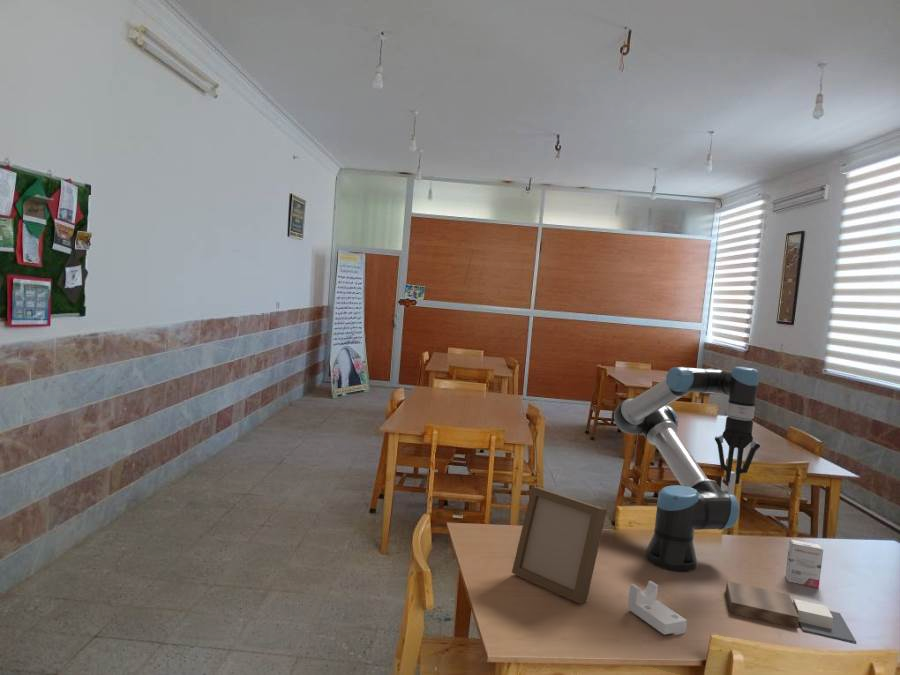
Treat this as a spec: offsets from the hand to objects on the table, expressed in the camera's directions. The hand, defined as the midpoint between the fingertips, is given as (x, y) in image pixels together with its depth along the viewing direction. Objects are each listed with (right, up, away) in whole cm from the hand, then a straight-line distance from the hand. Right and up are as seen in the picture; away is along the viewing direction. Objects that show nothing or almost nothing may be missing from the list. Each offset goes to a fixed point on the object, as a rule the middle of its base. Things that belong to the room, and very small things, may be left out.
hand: (730, 493), depth 195 cm
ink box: (+21, -27, -2) cm, 34 cm away
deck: (-2, -26, -23) cm, 35 cm away
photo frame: (-56, -21, -18) cm, 63 cm away
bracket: (-35, -24, -35) cm, 55 cm away
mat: (+12, -28, -27) cm, 41 cm away
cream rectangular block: (+10, -27, -27) cm, 39 cm away
